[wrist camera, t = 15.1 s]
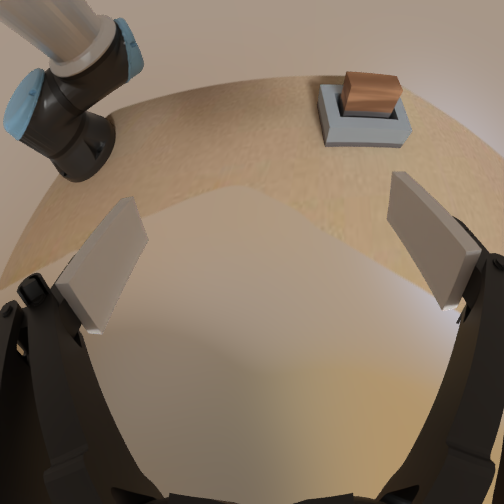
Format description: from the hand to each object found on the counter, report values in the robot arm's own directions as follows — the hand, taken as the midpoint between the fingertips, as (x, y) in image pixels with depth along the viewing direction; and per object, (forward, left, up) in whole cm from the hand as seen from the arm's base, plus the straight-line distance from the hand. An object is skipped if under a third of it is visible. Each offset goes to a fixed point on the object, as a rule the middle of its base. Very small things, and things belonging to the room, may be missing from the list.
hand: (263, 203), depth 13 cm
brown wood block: (-16, +23, -27) cm, 39 cm away
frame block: (-16, +23, -28) cm, 40 cm away
